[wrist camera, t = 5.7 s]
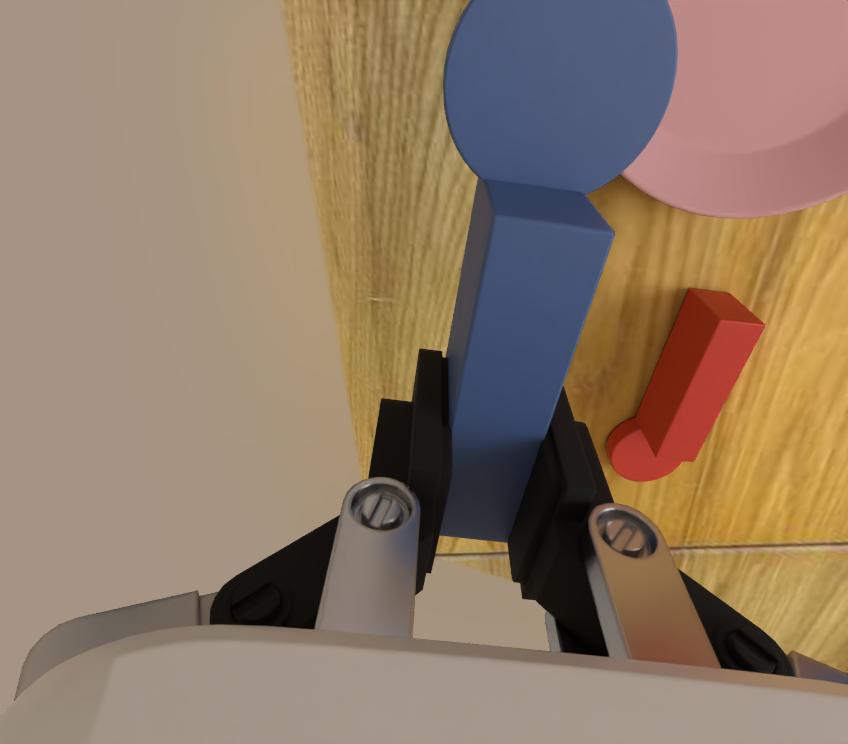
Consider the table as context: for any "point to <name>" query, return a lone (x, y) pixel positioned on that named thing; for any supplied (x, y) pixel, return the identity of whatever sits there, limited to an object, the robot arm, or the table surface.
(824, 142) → the plate
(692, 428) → the red spoon
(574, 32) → the blue spoon
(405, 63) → the table surface
